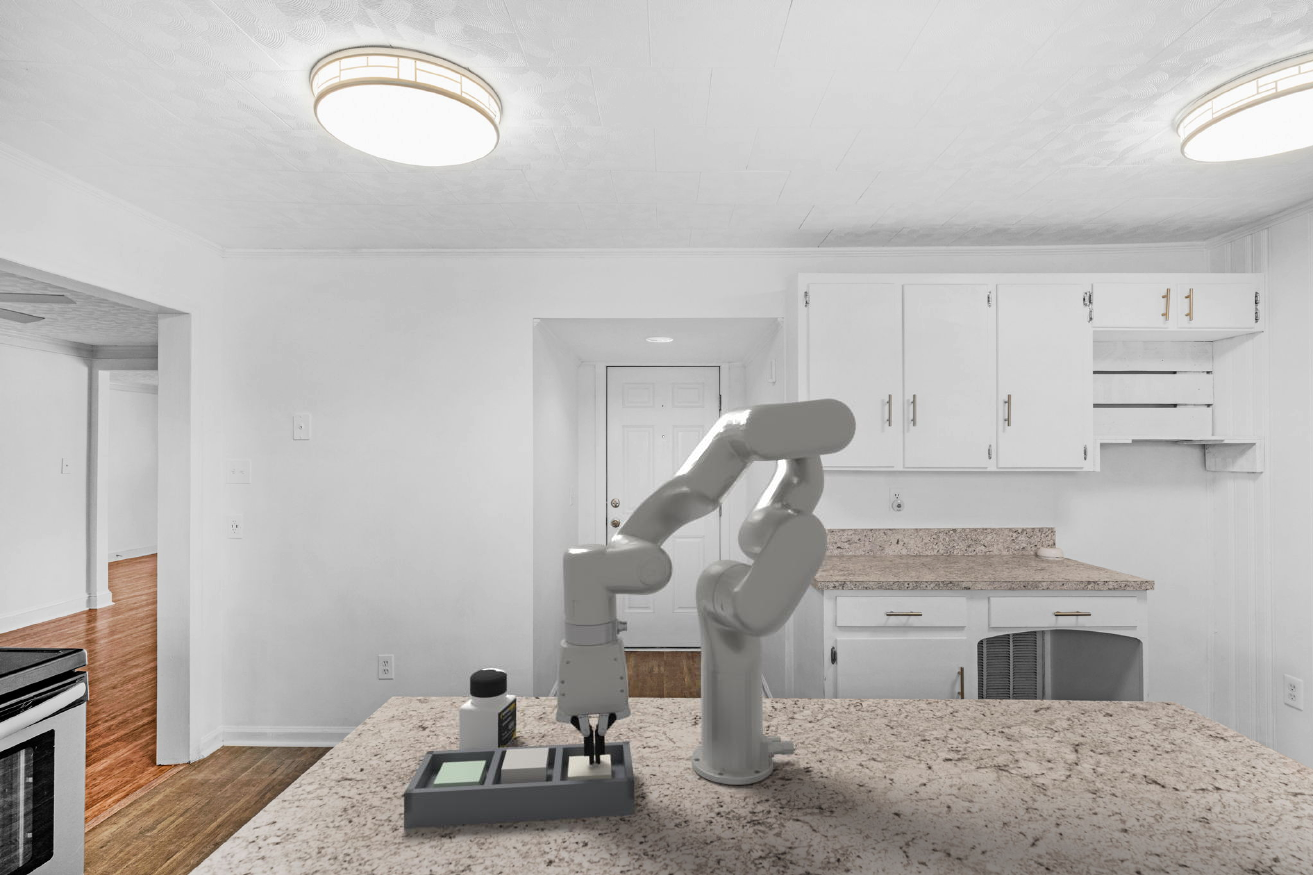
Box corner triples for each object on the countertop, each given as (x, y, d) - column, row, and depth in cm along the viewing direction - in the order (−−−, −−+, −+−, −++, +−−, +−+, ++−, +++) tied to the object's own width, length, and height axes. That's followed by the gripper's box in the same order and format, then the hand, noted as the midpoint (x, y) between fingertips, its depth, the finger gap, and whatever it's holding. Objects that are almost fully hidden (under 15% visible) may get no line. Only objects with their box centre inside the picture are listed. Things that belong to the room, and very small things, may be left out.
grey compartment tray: (629, 771, 99) (629, 741, 99) (634, 814, 87) (634, 780, 87) (427, 781, 96) (427, 751, 96) (403, 828, 84) (404, 793, 84)
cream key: (610, 768, 95) (610, 754, 95) (611, 789, 89) (611, 774, 89) (569, 770, 95) (569, 756, 95) (567, 791, 89) (567, 776, 89)
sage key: (486, 774, 94) (486, 760, 94) (478, 796, 88) (478, 781, 88) (443, 776, 93) (443, 762, 93) (433, 798, 87) (433, 783, 87)
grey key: (548, 761, 94) (548, 747, 95) (545, 781, 88) (545, 767, 89) (507, 763, 94) (507, 749, 94) (501, 784, 88) (501, 769, 88)
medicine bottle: (498, 755, 104) (499, 680, 104) (458, 751, 105) (458, 677, 106) (517, 736, 111) (517, 666, 111) (478, 733, 112) (479, 663, 113)
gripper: (640, 621, 97) (644, 744, 97) (540, 627, 96) (544, 752, 95) (645, 636, 90) (649, 768, 89) (536, 642, 88) (540, 777, 88)
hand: (594, 759), depth 92 cm, fingers closed
